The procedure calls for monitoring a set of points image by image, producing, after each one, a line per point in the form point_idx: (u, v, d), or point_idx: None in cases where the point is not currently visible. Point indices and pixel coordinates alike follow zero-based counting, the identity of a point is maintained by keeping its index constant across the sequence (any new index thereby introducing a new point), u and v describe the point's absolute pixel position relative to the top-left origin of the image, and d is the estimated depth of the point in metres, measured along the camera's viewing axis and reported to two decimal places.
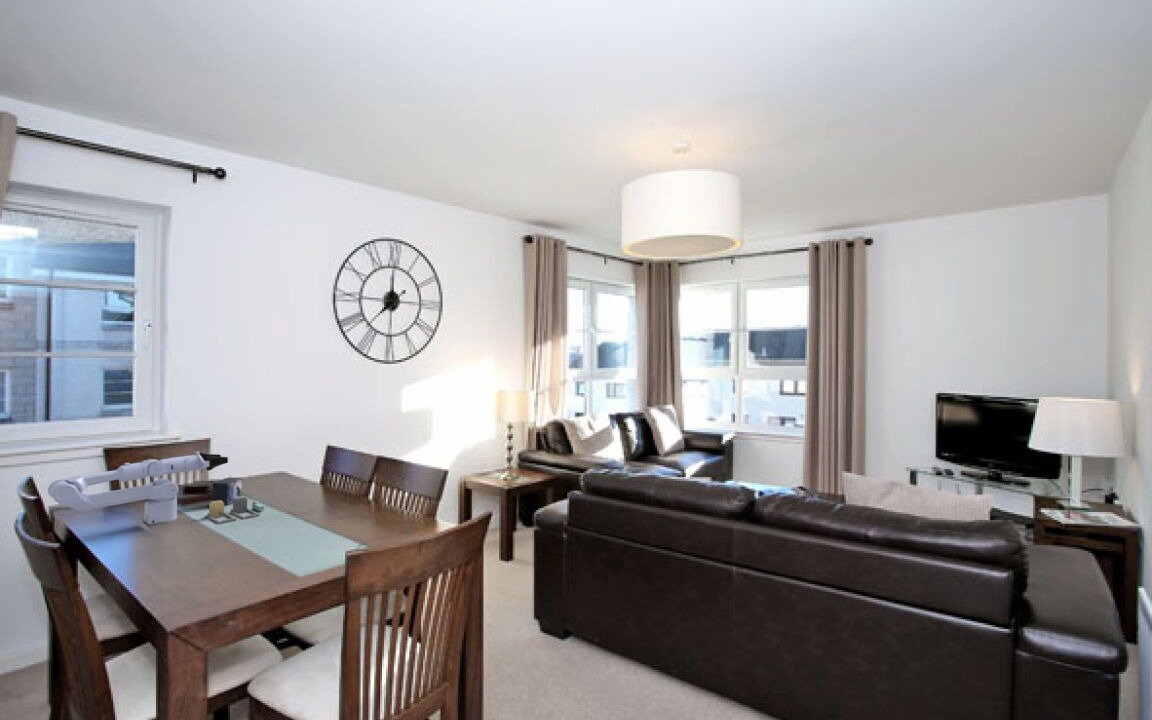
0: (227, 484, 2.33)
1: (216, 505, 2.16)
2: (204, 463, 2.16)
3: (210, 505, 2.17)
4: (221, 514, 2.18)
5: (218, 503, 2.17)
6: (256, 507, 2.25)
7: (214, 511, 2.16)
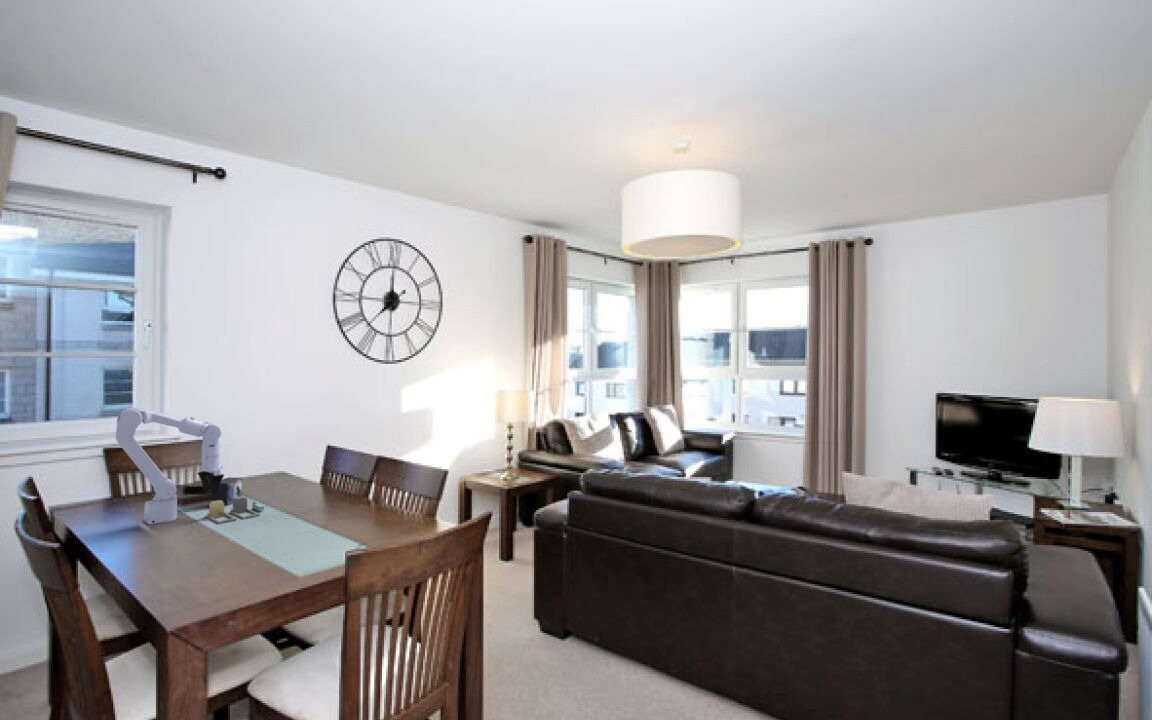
0: (227, 484, 2.33)
1: (216, 505, 2.16)
2: (218, 471, 2.17)
3: (210, 505, 2.17)
4: (221, 514, 2.18)
5: (218, 503, 2.17)
6: (256, 507, 2.25)
7: (214, 511, 2.16)
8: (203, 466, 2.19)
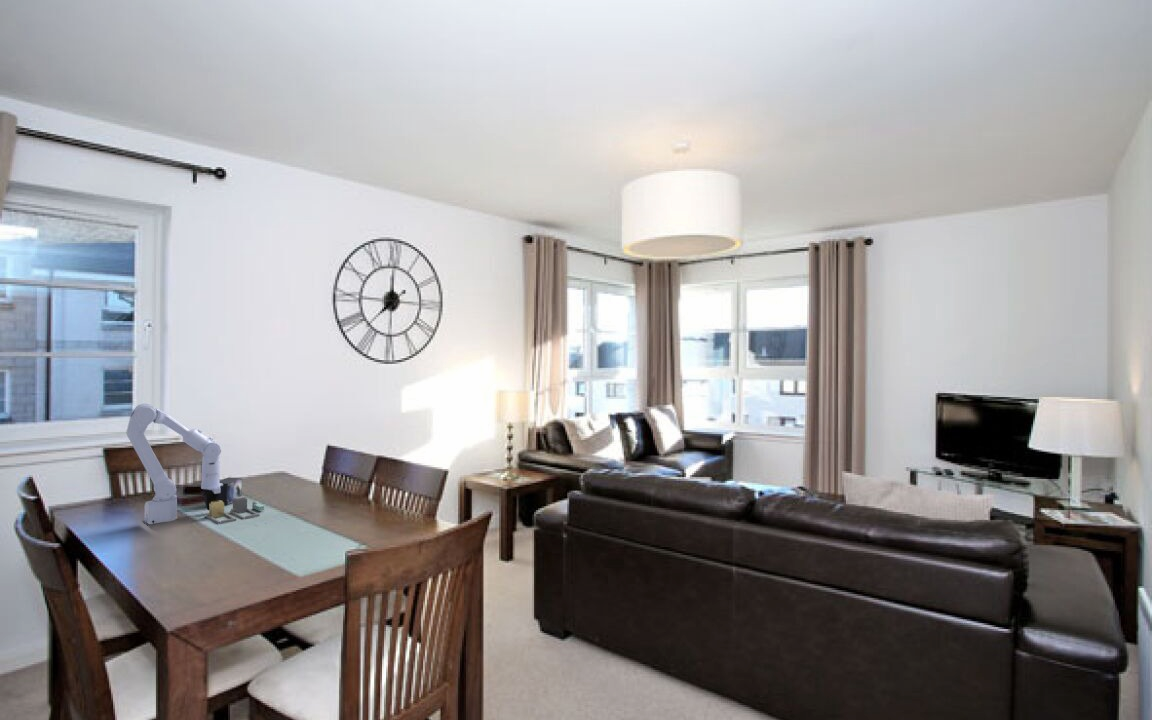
0: (227, 484, 2.33)
1: (216, 505, 2.16)
2: (218, 489, 2.17)
3: (210, 505, 2.17)
4: (221, 514, 2.18)
5: (218, 503, 2.17)
6: (256, 507, 2.25)
7: (214, 511, 2.16)
8: (203, 484, 2.19)
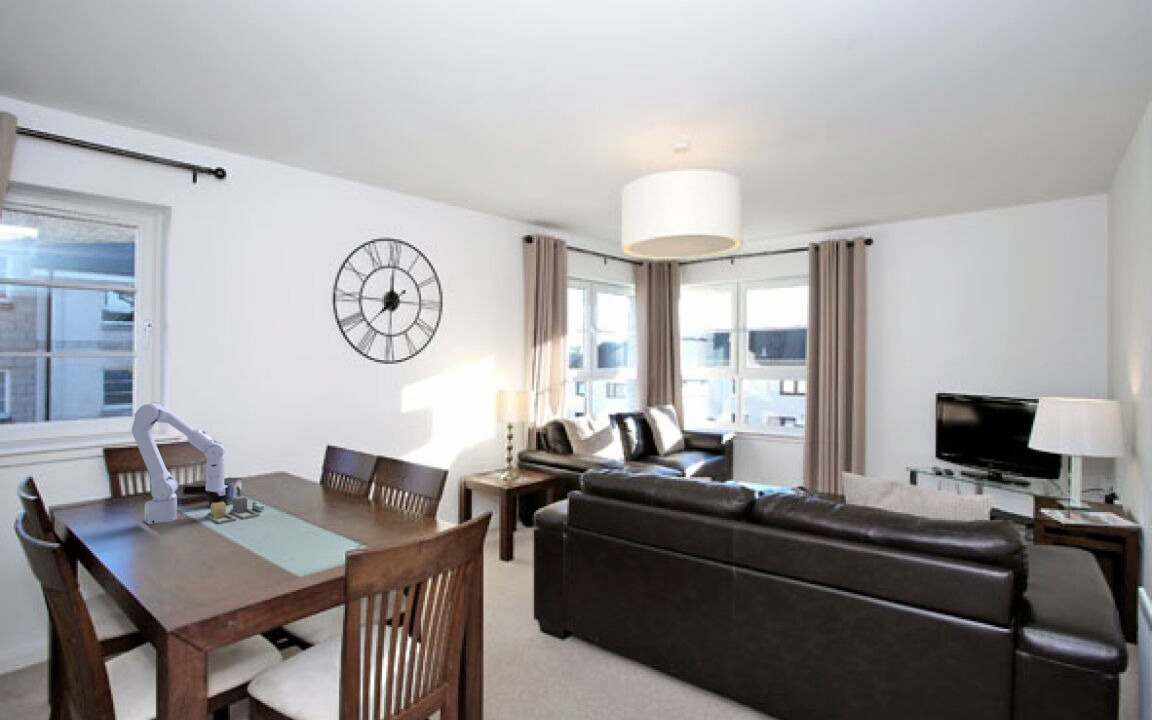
0: (227, 484, 2.33)
1: (218, 506, 2.15)
2: (223, 491, 2.14)
3: (211, 506, 2.16)
4: (223, 515, 2.17)
5: (220, 504, 2.16)
6: (256, 507, 2.25)
7: (216, 512, 2.15)
8: (208, 486, 2.16)
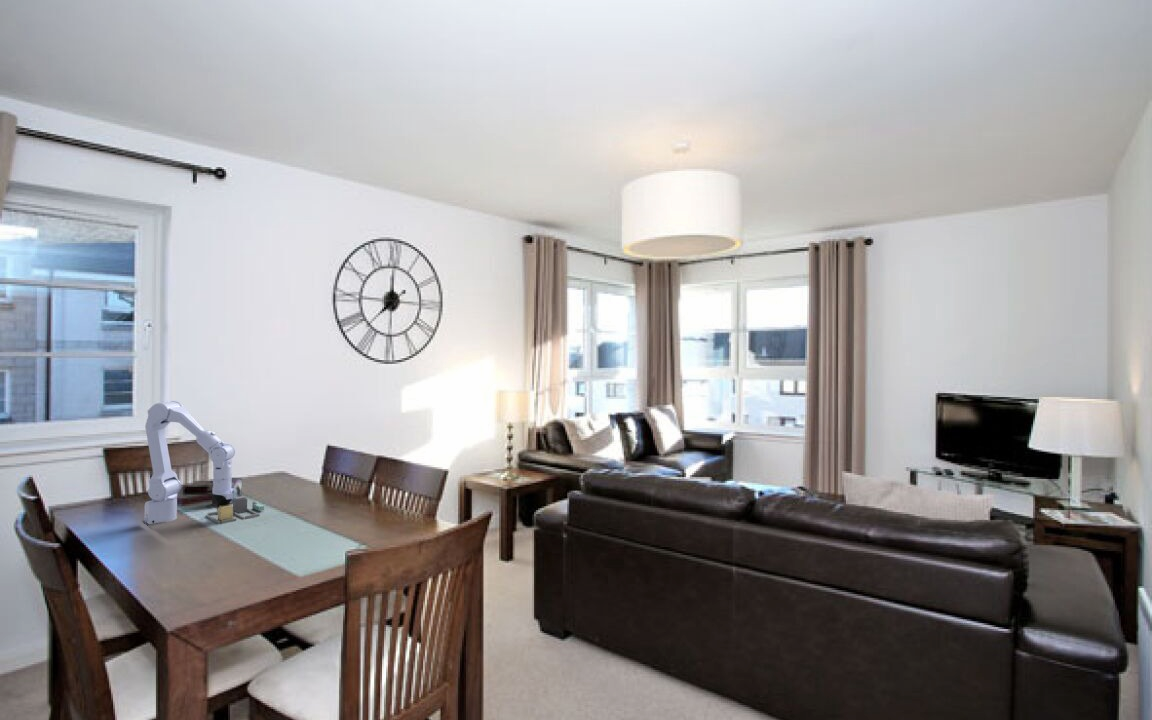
0: None
1: (225, 509, 2.11)
2: (231, 494, 2.09)
3: (218, 509, 2.11)
4: None
5: (227, 507, 2.11)
6: (256, 507, 2.25)
7: (223, 515, 2.10)
8: (215, 489, 2.11)
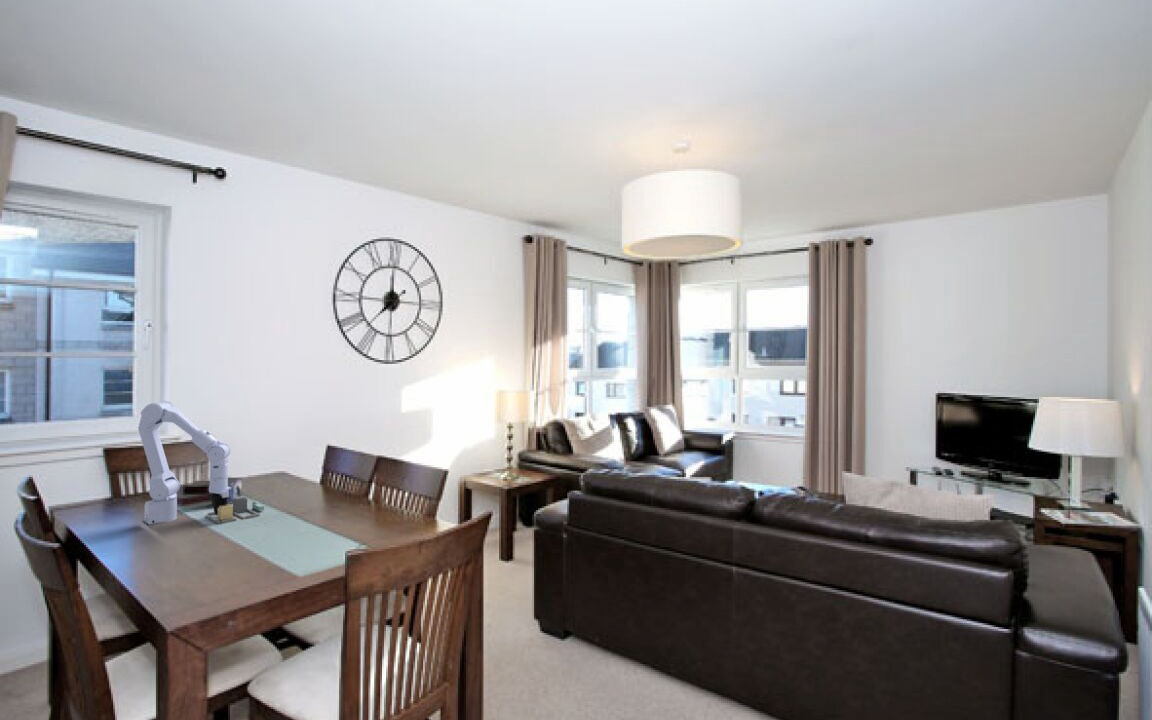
0: None
1: (224, 509, 2.11)
2: (227, 492, 2.12)
3: (218, 509, 2.11)
4: (230, 518, 2.12)
5: (227, 507, 2.11)
6: (256, 507, 2.25)
7: (223, 515, 2.10)
8: (211, 488, 2.14)
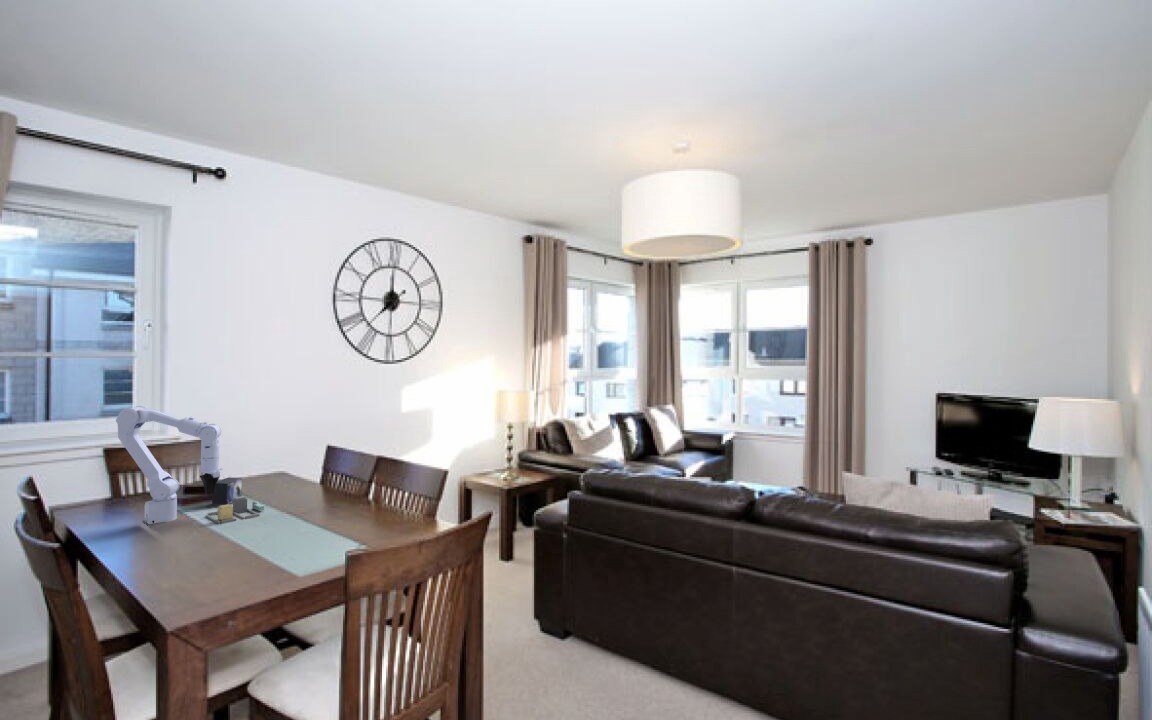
0: (227, 484, 2.33)
1: (224, 509, 2.11)
2: (218, 472, 2.12)
3: (218, 509, 2.11)
4: (230, 518, 2.12)
5: (227, 507, 2.11)
6: (256, 507, 2.25)
7: (223, 515, 2.10)
8: (202, 468, 2.14)
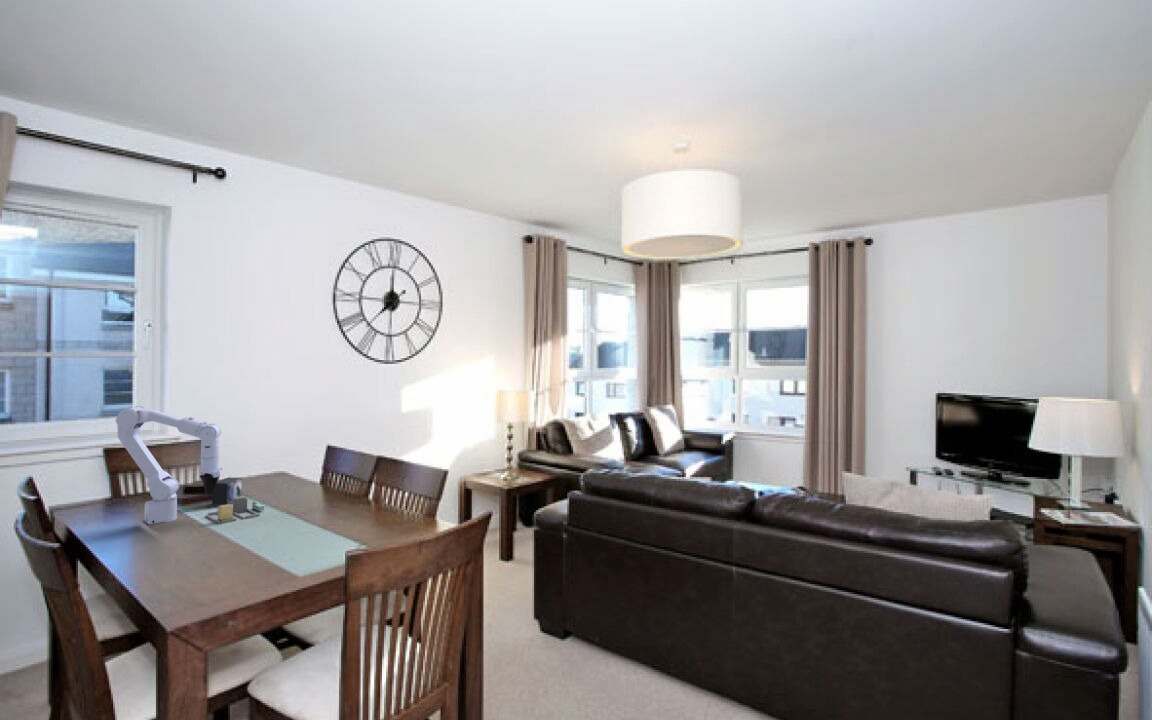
0: (227, 484, 2.33)
1: (224, 509, 2.11)
2: (218, 472, 2.12)
3: (218, 509, 2.11)
4: (230, 518, 2.12)
5: (227, 507, 2.11)
6: (256, 507, 2.25)
7: (223, 515, 2.10)
8: (202, 467, 2.14)
